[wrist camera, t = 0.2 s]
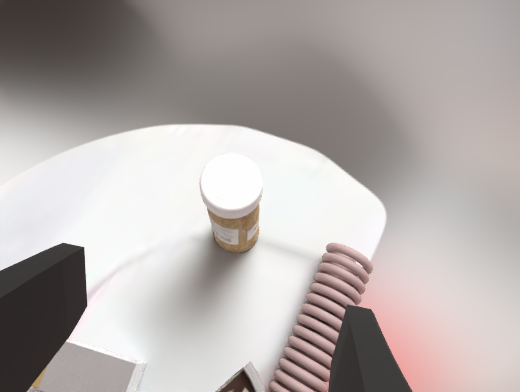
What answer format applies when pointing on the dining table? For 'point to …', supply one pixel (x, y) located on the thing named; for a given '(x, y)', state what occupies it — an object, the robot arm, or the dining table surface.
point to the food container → (244, 381)
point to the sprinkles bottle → (233, 200)
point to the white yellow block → (89, 371)
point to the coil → (327, 288)
